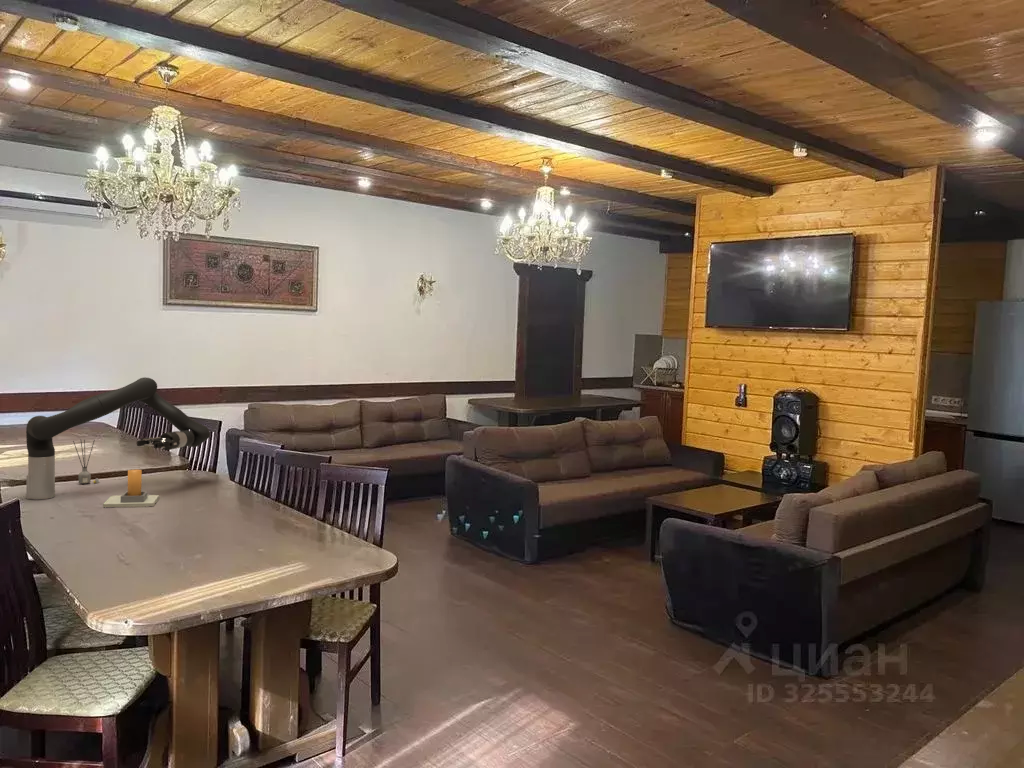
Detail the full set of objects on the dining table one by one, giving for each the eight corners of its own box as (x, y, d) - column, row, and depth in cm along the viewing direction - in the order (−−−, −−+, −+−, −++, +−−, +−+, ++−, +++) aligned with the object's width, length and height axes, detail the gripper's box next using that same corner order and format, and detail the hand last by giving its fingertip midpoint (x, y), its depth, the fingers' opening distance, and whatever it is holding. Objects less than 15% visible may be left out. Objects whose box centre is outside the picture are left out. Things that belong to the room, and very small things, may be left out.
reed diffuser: (73, 485, 328) (73, 440, 327) (71, 482, 334) (71, 438, 332) (100, 483, 335) (100, 439, 333) (97, 480, 340) (97, 437, 339)
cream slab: (103, 507, 295) (103, 497, 295) (111, 499, 308) (111, 489, 308) (153, 506, 300) (153, 497, 300) (159, 498, 314) (159, 489, 313)
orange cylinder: (126, 501, 301) (126, 471, 300) (128, 498, 305) (129, 469, 304) (139, 501, 302) (140, 471, 301) (142, 498, 307) (142, 469, 306)
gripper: (159, 430, 329) (132, 434, 313) (187, 433, 325) (160, 437, 310) (159, 447, 330) (131, 451, 314) (186, 450, 326) (160, 455, 310)
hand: (146, 444), depth 312 cm, fingers open, 8 cm apart
